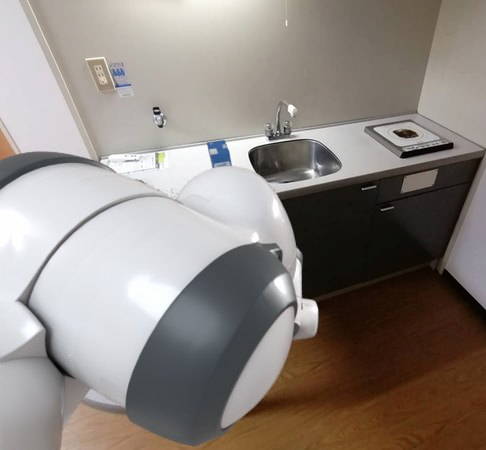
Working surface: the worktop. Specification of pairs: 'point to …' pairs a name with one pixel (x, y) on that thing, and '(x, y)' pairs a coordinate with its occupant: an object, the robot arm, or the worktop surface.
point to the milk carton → (219, 154)
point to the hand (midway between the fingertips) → (174, 319)
